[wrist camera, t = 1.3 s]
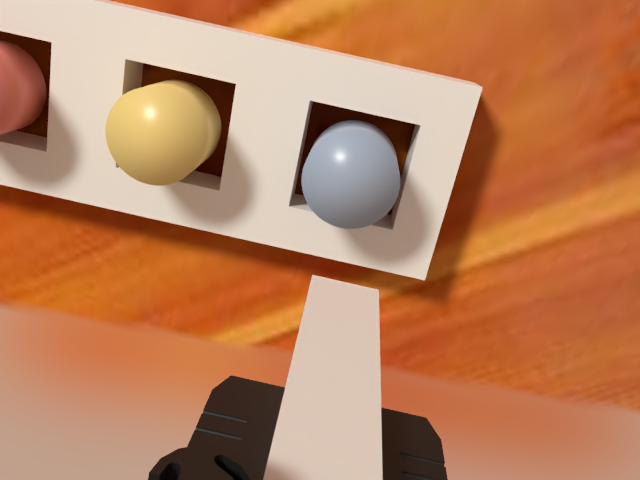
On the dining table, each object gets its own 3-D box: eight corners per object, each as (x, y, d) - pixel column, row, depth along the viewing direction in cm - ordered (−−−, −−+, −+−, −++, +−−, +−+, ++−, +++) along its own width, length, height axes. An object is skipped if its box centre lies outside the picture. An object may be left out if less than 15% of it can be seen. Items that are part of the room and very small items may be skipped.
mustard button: (131, 157, 31) (101, 173, 27) (139, 70, 29) (109, 77, 26) (214, 176, 31) (195, 195, 27) (227, 90, 29) (208, 99, 26)
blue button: (301, 195, 31) (293, 217, 27) (319, 111, 29) (312, 122, 26) (385, 214, 31) (386, 238, 27) (407, 130, 29) (411, 145, 26)
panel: (-66, 152, 33) (-99, 162, 31) (-71, -40, 30) (-109, -46, 28) (421, 262, 33) (424, 280, 31) (473, 82, 30) (482, 87, 27)
